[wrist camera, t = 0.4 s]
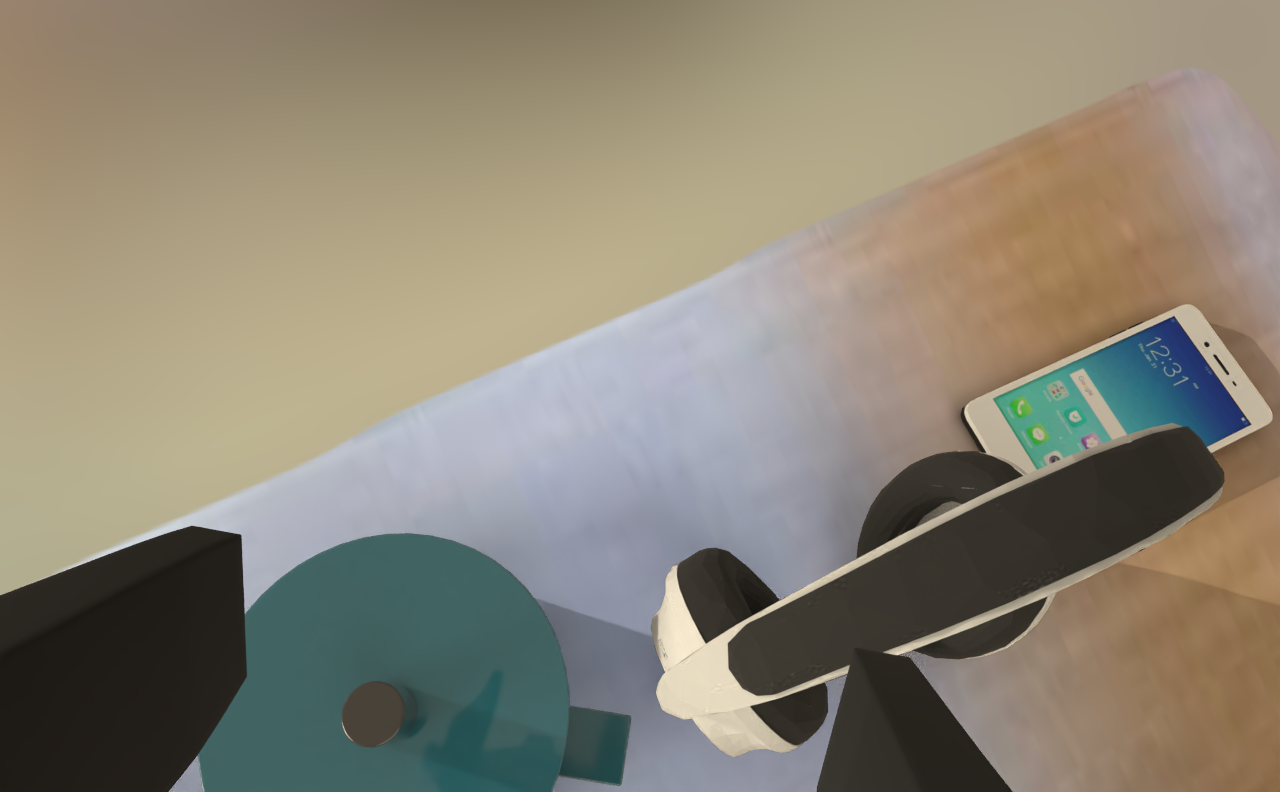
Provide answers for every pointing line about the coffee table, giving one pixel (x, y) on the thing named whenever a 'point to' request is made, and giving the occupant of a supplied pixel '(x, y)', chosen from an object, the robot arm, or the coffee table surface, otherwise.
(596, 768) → the pot
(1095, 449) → the headphones
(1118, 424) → the smartphone
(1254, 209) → the coffee table surface
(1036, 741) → the coffee table surface
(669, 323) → the coffee table surface
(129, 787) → the robot arm
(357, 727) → the pot lid
